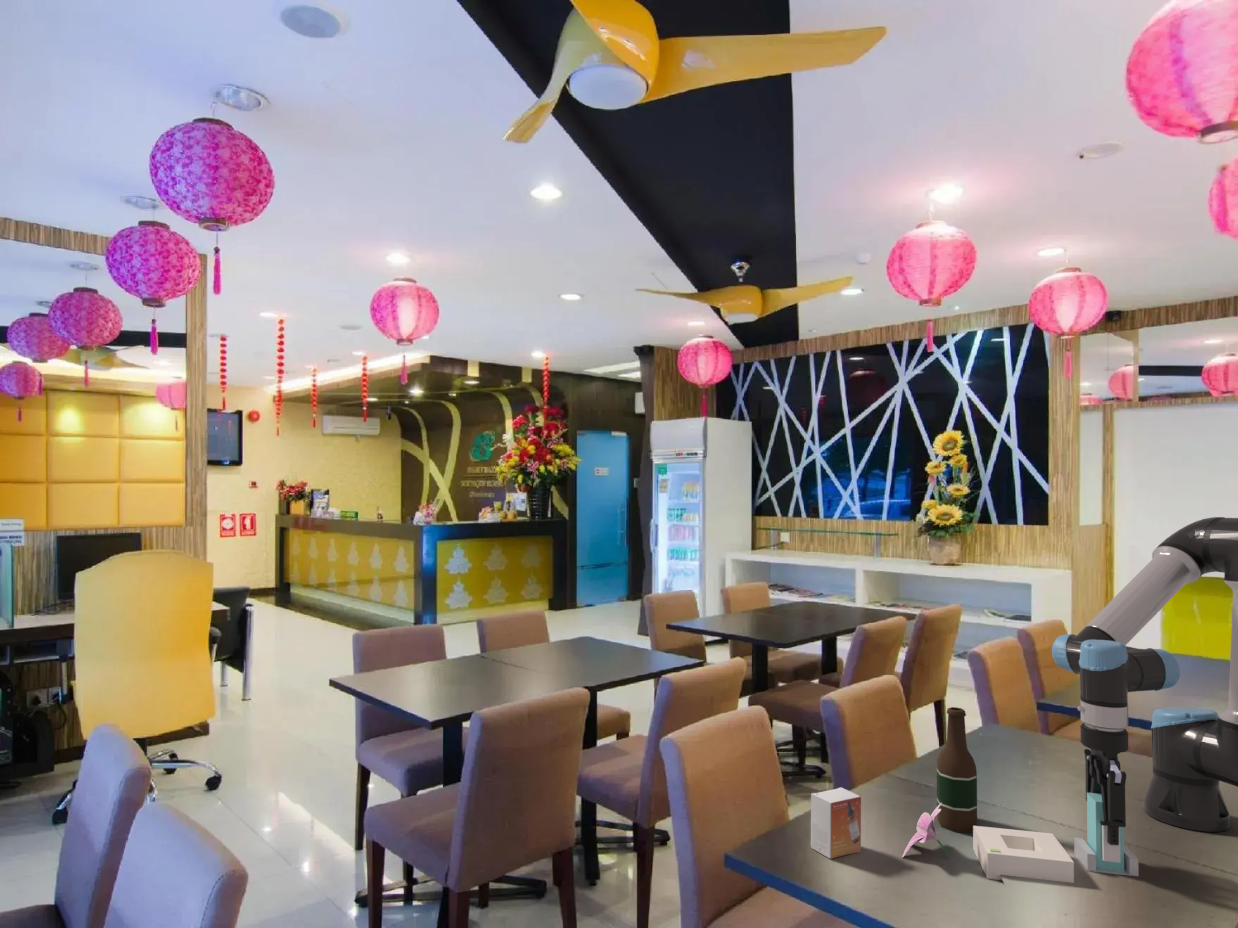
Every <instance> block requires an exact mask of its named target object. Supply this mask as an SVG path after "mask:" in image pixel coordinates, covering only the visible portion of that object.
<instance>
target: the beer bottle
mask: <svg viewBox="0 0 1238 928" xmlns="http://www.w3.org/2000/svg"><path fill="white" fill-rule="evenodd" d="M946 709H947V710H946V714H947V727H946V728H947V729H946V741H945V746H944V747H943V748H942V750H941V751H940V752H939V755H938V757H937V761H936V807H937V806H938V805H939V804H940V803H941V805H940V807H939V808H938V809H941V811H940V812H939V813H938V814H937V815H936V817H937V821H938V823H939V825H940V827H941V828H943V829H946V830H948V831H950V832H954V833H963V834H964V833H966V834H969V833H971V832H973V826H978V774H977V773H978V772H977V766H976V763H975V760H974V757H973V756H972V754H971V753H970V751H969V749H968V745H967V735H966V722H965V721H966V720H965V717H966V716H967V712H966V711H965V709H964V708H961V707H956V706H952V707H948V708H946Z"/></svg>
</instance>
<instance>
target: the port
mask: <svg viewBox="0 0 1238 928" xmlns="http://www.w3.org/2000/svg"><path fill="white" fill-rule="evenodd" d="M972 837H973V838H972V845H973V846H972V848H973V852H974V853H975V855H976V858H977V860H978V862H979V864H980V866H981V869H982V870H983V873H984V874H985V876H986V879H989V880H996V881H997V880H998V881H1003V879H1002V876H1010V877H1019V878H1026V879H1035V880H1046V881H1054V882H1062V883H1070V884H1074V883H1075V862H1074V860H1073V859H1072V858H1071V856H1070V855H1069V854H1068V853H1067V851H1066V850H1065V848H1064V847H1063V846H1062V844H1061V843H1060V841H1058V839H1057V838H1056V836H1055V835H1054V834H1053V833H1050V832H1042V831H1041V832H1039V831H1031V830H1022V829H1010V828H1001V827H990V826H982V825H981V826H980V825H976V826H973V831H972Z"/></svg>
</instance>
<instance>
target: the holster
mask: <svg viewBox="0 0 1238 928" xmlns="http://www.w3.org/2000/svg"><path fill="white" fill-rule="evenodd" d="M1073 838H1074V840H1073V841H1074V844H1073V845H1074V847H1073V849H1074V850H1073V851H1074V853H1073V854H1074V855H1075V857H1076V858H1077V859H1078V860H1079V862H1080V863H1081V865H1082V866H1083V867H1084V868H1085V870H1086V871H1087V872H1094V873H1104V874H1114V875H1122V876H1131V877H1139V876H1140V875H1139V871H1140V870H1139V858H1138V857H1137V856H1136V855H1135V854H1134V853H1133V851H1132V850H1130V848H1129V847H1128V846H1127V845H1126V844H1125V843H1124V872H1122V871H1113V870H1104V869H1096V854H1095V853H1094V852H1093V850H1092V849H1091V848H1090V847H1089V846H1088V844H1087V841H1086V840H1084V838H1082V837H1075V836H1074V837H1073Z"/></svg>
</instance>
